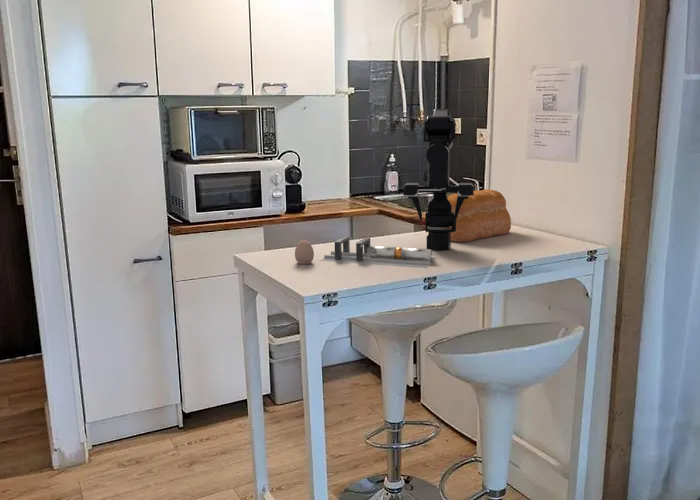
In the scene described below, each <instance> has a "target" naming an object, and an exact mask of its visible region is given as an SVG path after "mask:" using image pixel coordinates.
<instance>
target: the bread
mask: <svg viewBox="0 0 700 500" xmlns="http://www.w3.org/2000/svg"><path fill="white" fill-rule="evenodd" d="M457 194H458V193H452V194H450V195H449V196H447V199H448V200H449V202H450V203H451V206H452V212H454V214H455V208H456V201H457ZM468 197H469V198H468V199H464V201H463V203H462V205H461V207H460V210H459V213H458V216H457V219H456V231H455V232H451V242H457V243H465V242H470V241H471V242H472V241H475V240H479V239H486V238H489V237H494V236H499V235H506V234H508V233H509V232H510V231H511V228H512V218H511V216H510V213H509V211H508V210H507V201H506V198H505V196H504V195H503V194H502V193H501V192H499V191H498V190H495V189H482V190H474V195H472V196H468ZM450 227H452V226H450Z"/></svg>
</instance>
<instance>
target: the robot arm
mask: <svg viewBox="0 0 700 500" xmlns="http://www.w3.org/2000/svg"><path fill="white" fill-rule="evenodd" d="M450 112H451V111H450V109H448V108H437V109H436V108H434V109H432V114H431V115H428V116H427V117H426V120H424V122H423V123H424V127H423V143H429V144H428V146H427V150H426V153H425V156H426V157H425V158H426V160H427V170H423V179H422V181H423V183H424V184H427V185H420V184H419V182H407V183H405V184H404V185H403V187H402V196H407V199H410V200H411V201H412V203H413V204H414V206H415V208H416V211H417V212H416V213H417V214H418V218H419V221H420V222H422V221H423V210H422V203H421V193H430V194H432V193H433V196H432V198H431V200H429V202H428V204H427V211H425V213H424V214H425V218H424V220H425V221H424V223H425V224H424V225H425V229H424V230H425V233H428V235H426V249H431V250H432V251H434V252H435V251H436V252H440V251H441V252H442V251H450V250H451V249H452V241H451V232H455V231H456V219H457V216H458V213H459V210H460V207H461V205H462V203H463V201H464V199H468V198H469V197H468V196H472V195H474V191H475V190H474V189H475V188H474V187H475V186H474V184H473V183H472V182H459V183H458V185H450V150H451V149H452V147H453V145H454V140H456V128H457V127H456V125H457V124H456V120H455V119H454V117H453V116H452V115H451V113H450ZM451 193H452V194H457V201H456V208H455V214H454V212H452V206H451V203H450V202H449V200H448V199H447V198H448V195H447V194H451ZM450 226H452V227H450Z"/></svg>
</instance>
